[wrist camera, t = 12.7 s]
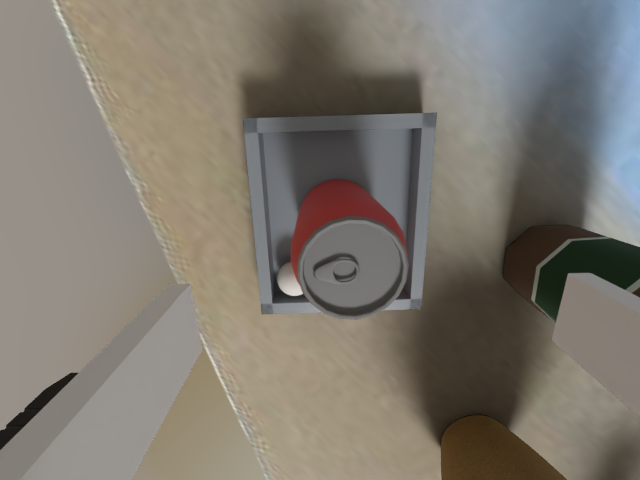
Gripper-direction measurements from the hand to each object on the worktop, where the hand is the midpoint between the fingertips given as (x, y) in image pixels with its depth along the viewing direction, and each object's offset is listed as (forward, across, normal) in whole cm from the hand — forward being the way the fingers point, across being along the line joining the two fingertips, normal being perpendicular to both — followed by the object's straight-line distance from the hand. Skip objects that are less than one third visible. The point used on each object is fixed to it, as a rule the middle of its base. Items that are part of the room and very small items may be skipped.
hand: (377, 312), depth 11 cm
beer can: (+17, 0, -1) cm, 17 cm away
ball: (+16, -4, -6) cm, 18 cm away
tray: (+17, 0, -1) cm, 17 cm away
